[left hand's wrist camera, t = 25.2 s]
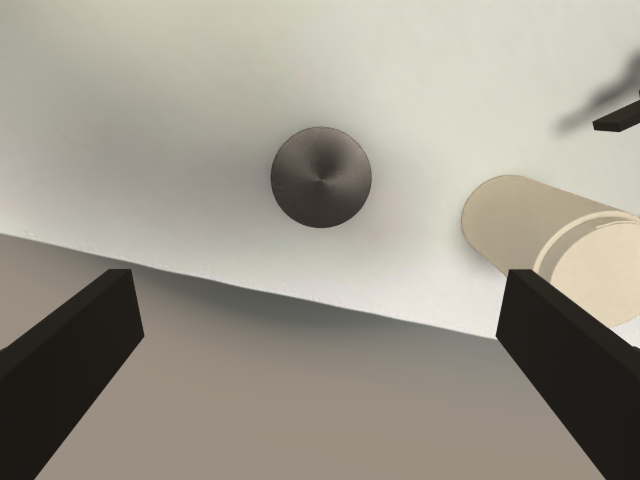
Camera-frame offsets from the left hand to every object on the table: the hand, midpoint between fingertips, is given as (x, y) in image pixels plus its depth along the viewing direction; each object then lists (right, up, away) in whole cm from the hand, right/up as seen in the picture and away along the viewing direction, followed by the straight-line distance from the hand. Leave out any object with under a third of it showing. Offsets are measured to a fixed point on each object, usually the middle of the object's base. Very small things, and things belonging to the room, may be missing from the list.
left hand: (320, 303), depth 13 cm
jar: (+20, +5, +26) cm, 33 cm away
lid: (0, +8, +23) cm, 24 cm away
